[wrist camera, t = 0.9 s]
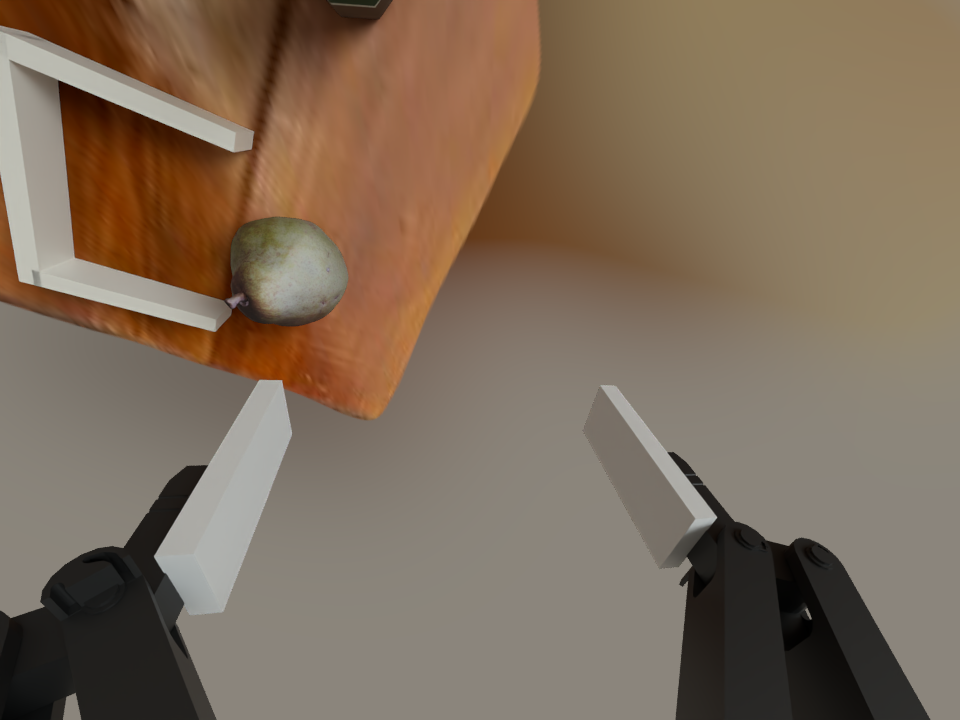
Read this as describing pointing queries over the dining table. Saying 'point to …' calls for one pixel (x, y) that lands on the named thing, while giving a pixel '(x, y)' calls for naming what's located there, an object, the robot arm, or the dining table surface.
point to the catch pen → (43, 178)
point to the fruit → (285, 272)
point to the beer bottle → (360, 8)
